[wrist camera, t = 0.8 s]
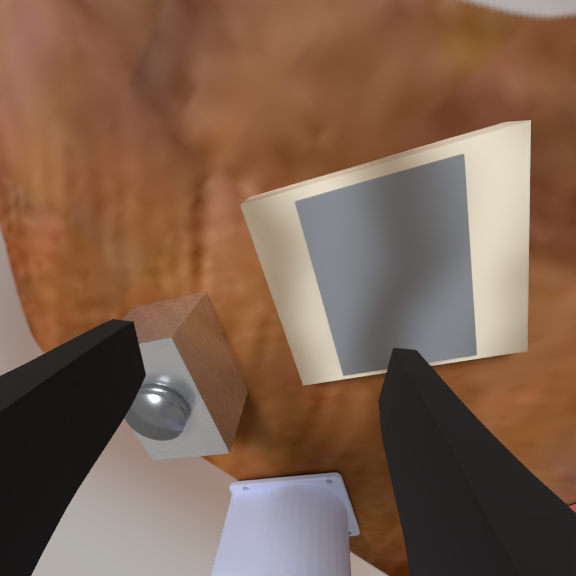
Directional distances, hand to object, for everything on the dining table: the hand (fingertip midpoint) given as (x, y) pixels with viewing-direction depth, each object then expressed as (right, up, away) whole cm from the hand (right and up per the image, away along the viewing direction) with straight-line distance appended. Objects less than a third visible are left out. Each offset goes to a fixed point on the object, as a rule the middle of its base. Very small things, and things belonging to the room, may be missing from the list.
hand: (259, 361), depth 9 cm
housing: (-5, -2, +12) cm, 14 cm away
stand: (+6, +3, +8) cm, 11 cm away
